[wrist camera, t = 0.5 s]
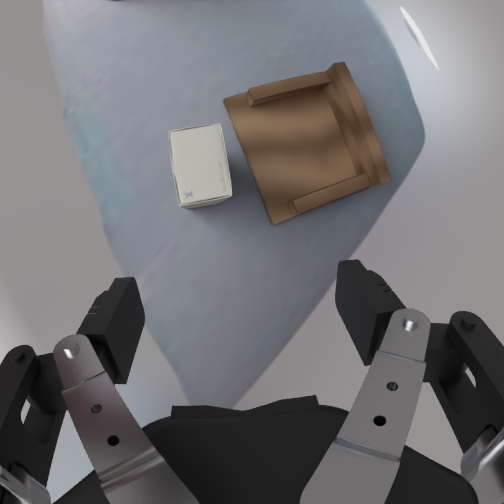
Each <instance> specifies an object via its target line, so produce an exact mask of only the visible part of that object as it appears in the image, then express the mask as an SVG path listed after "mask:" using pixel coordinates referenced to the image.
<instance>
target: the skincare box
mask: <svg viewBox="0 0 504 504" xmlns="http://www.w3.org/2000/svg"><path fill="white" fill-rule="evenodd" d="M168 140H169V149H170V157H171V165H172V171H173V177H174V183H175V189H176V194H177V199H178V205H179V206H180V207H183V208H185V209H190V208H197V207H202V206H208V205H213V204H218V203H222V202H223V201H225V200H227V199H228V198H230V197H231V196H232V187H231V179H230V172H229V166H228V160H227V154H226V148H225V143H224V137H223V132H222V127H221V124H219V123H218V124H209V125H201V126H194V127H187V128H181V129H176V130H171V131H169V132H168Z"/></svg>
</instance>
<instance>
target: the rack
mask: <svg viewBox="0 0 504 504" xmlns="http://www.w3.org/2000/svg"><path fill="white" fill-rule="evenodd" d="M223 102H224V105H225V107H226V110H227V112H228V115H229V117H230V119H231V122H232V124H233V127H234V129H235V132H236V134H237V137H238V140H239V142H240V145H241V147H242V150H243V152H244V155H245V157H246V160H247V162H248V165H249V168H250V170H251V173H252V175H253V178H254V180H255V183H256V186H257V188H258V191H259V194H260V196H261V199H262V201H263V204H264V207H265V209H266V212H267V215H268V217H269V220H270V223H271V225H275V224H277V223H280V222H282V221H285V220H287V219H290V218H292V217H295V216H297V215H300V214H302V213H305V212H307V211H310V210H312V209H315V208H317V207H320V206H322V205H325V204H327V203H330V202H333V201H335V200H338V199H340V198H343V197H345V196H348V195H350V194H353V193H356V192H358V191H361V190H363V189H366V188H368V187H371V186H370V185H378V184H384V183H386V182H389V181H391V177H390V174H389V171H388V168H387V165H386V162H385V159H384V156H383V153H382V150H381V148H380V145H379V142H378V139H377V137H376V134H375V131H374V129H373V126H372V123H371V121H370V118H369V116H368V113H367V111H366V108H365V106H364V104H363V101H362V99H361V97H360V94H359V92H358V90H357V87H356V85H355V83H354V81H353V79H352V76H351V74H350V72H349V70H348V68H347V66H346V64H345V62H340V63H334V64H333V65H332V66H331V67H330V68H329V69H328V70H327V71H324V72H319V73H314V74H309V75H304V76H299V77H294V78H290V79H286V80H281V81H277V82H273V83H269V84H265V85H261V86H257V87H254V88H250V89H249V90H248V92H245V93H241V94H238V95H234V96H231V97H228V98H225V99H224V100H223Z"/></svg>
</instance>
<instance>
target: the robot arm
mask: <svg viewBox="0 0 504 504" xmlns="http://www.w3.org/2000/svg"><path fill="white" fill-rule="evenodd" d="M336 283H337V284H336V292H335V302H336V307H337V310H338V312H339V314H340V316H341V318H342V320H343V322H344V324H345V326H346V328H347V330H348V332H349V334H350V336H351V338H352V340H353V343H354V344H355V347H356V349H357V351H358V353H359V355H360V357H361V359H362V361H363V363H364V365H365V366H368V365H371V366H370V368H369V371H368V373H367V375H366V378H365V380H364V382H363V384H362V387H361V389H360V391H359V393H358V395H357V397H356V399H355V402H354V404H353V406H352V408H351V410H350V412H349V411H346V410H344V409H341V408H337V407H333V406H326V405H319V404H318V400H317V397H316V395H313V396H306V397H300V398H291V399H283V400H279V401H276V402H273V403H269V404H266V405H263V406H260V407H256V408H253V409H250V410H245V411H240V410H233V409H226V408H220V407H213V406H207V405H203V406H172V411H171V416H169V417H165V418H162V419H159V420H157V421H154V422H152V423H150V424H148V425H146V426H144V427H143V428H142V429H141V427H140V426H139V425H138V423H137V421H136V420H135V419H134V417H133V415H132V414H131V412H130V411H129V409H128V408H127V406H126V404H125V403H124V401H123V400H122V398H121V396H120V395H119V393H118V391H117V390H116V388H115V384H126V383H127V380H128V376H129V373H130V369H131V366H132V362H133V359H134V355H135V352H136V349H137V346H138V342H139V339H140V336H141V333H142V330H143V327H144V323H145V314H144V308H143V305H142V301H141V298H140V294H139V290H138V287H137V283H136V280H135V278H134V277H125V278H115V279H114V281H113V283H112V285H111V286H110V288H109V290H108V291H104V292H103V293H102V294H100V295H99V296H98V297H97V298H96V299H95V301H94V303H93V304H92V308H90V310H89V311H88V314H87V315H86V317H85V318H84V320H83V322H82V324H81V326H80V328H79V329H78V331H77V333H76V334H75V335H70V336H67V337H65V338H63V339H62V340H61V341H59V342H58V343H57V344H56V346H55V347H54V350H53V353H49V354H44V355H39V356H37V355H36V354H35V352H34V350H33V348H32V347H31V346H28V345H21V346H18V347H15V348H13V349H12V350H11V351H9V352H8V353H7V355H6V356H5V358H4V360H3V361H2V363H1V365H0V504H51V500H50V495H49V492H48V490H47V489H46V486H47V481H48V476H49V472H50V468H51V463H52V459H53V455H54V451H55V447H56V444H57V440H58V436H59V433H60V429H61V426H62V422H63V419H64V416H65V413H66V410H68V411H69V413H70V416H71V418H72V421H73V423H74V426H75V428H76V431H77V433H78V435H79V437H80V440H81V442H82V444H83V446H84V448H85V451H86V453H87V455H88V457H89V459H90V461H91V463H92V465H93V467H94V470H93V471H92V472H91V473H90V474H88V475H87V476H86V477H85V478H84V479H82V480H81V481H80V482H79V483H78V484H76V485H75V486H74V487H73V488H72V489H70V490H69V491H68V492H67V493H65V494H64V495H63V496H62V497H61V498H59V499H58V500H57V501H56V502H54V503H53V504H504V346H503V345H502V344H501V342H500V341H499V340H498V339H497V337H496V336H495V335H494V334H493V333H492V331H491V330H490V329H489V328H488V326H487V325H486V324H485V323H484V322H483V320H482V319H481V318H480V317H478V316H477V315H475V314H473V313H471V312H467V311H458V312H456V313H454V314H453V315H452V316H451V319H450V322H449V324H442V323H439V324H438V323H430V320H429V318H428V317H427V316H426V315H425V314H423V313H422V312H420V311H418V310H415V309H407V308H406V307H405V306H404V305H403V303H402V302H401V301H400V299H399V298H398V297H397V295H396V294H395V293H394V292H393V291H392V289H391V288H390V287H389V285H387V283H386V282H385V281H384V279H383V278H382V277H381V276H380V275H378V274H377V273H375V272H373V271H372V270H368V271H367V270H366V268H365V267H364V266H363V265H362V264H361V262H360V261H359V260H346V261H340V262H339V264H338V271H337V282H336ZM467 367H468V368H469V369H470V371H471V372H472V374H473V376H474V378H475V381H476V387H474V385H473V384H472V382H471V381H470V379H469V377H468V375H467V374H466V372H465V371H466V369H467ZM422 382H429V383H430V384H431V386H432V388H433V390H434V392H435V394H436V396H437V398H438V400H439V402H440V404H441V406H442V408H443V410H444V412H445V414H446V417H447V419H448V421H449V423H450V425H451V427H452V429H453V431H454V434H455V436H456V438H457V440H458V442H459V445H460V447H461V449H462V451H463V453H464V455H463V457H462V460H461V474H460V475H459V474H458V473H456V472H454V471H452V470H450V469H448V468H446V467H444V466H442V465H441V464H439V463H437V462H435V461H433V460H431V459H429V458H428V457H426V456H424V455H422V454H420V453H419V452H417V451H415V450H413V449H412V448H410V447H408V446H406V445H405V442H406V438H407V436H408V433H409V430H410V426H411V423H412V419H413V416H414V412H415V409H416V405H417V402H418V397H419V394H420V390H421V386H422ZM26 399H27V401H28V402H29V403H30V408H29V410H28V413H27V416H26V419H25V421H24V424H23V423H22V421H21V411H22V408H23V405H24V403H25V401H26Z"/></svg>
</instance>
